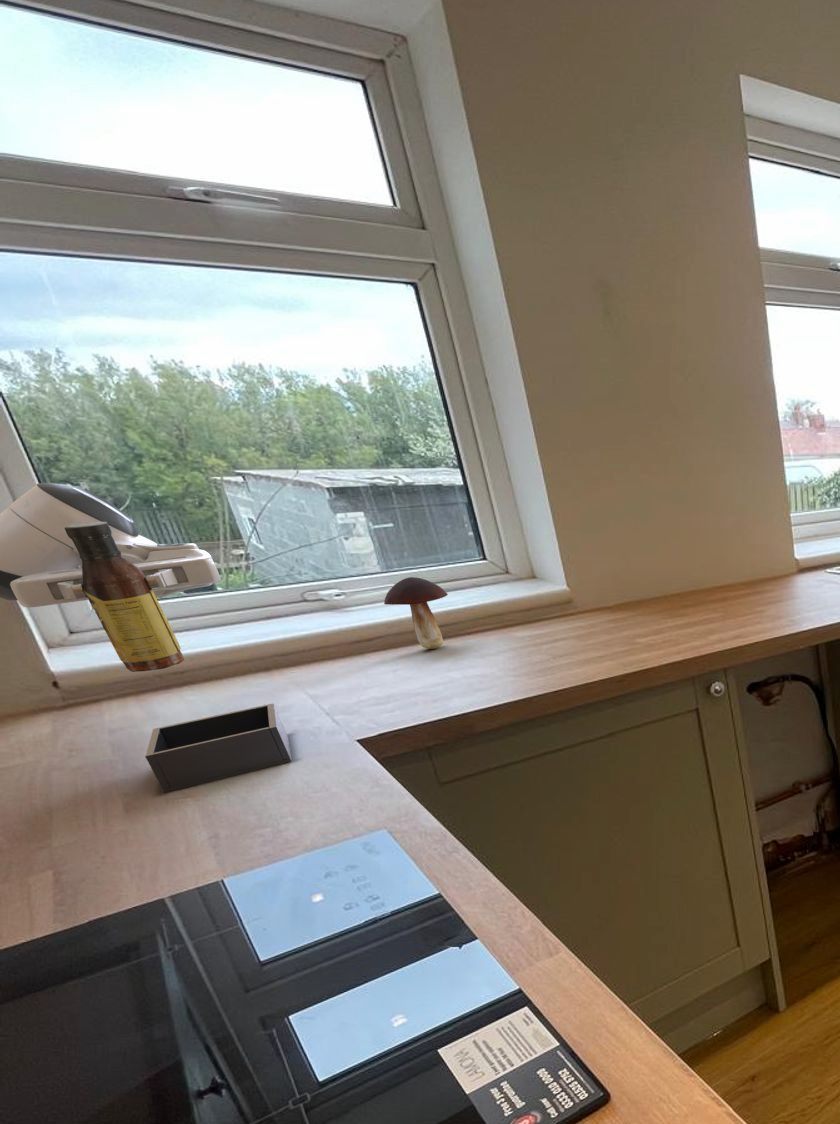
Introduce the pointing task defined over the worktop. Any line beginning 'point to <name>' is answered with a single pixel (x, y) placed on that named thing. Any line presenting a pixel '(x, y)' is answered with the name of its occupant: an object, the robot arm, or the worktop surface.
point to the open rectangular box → (217, 747)
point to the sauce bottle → (124, 601)
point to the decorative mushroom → (419, 607)
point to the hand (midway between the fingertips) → (116, 587)
